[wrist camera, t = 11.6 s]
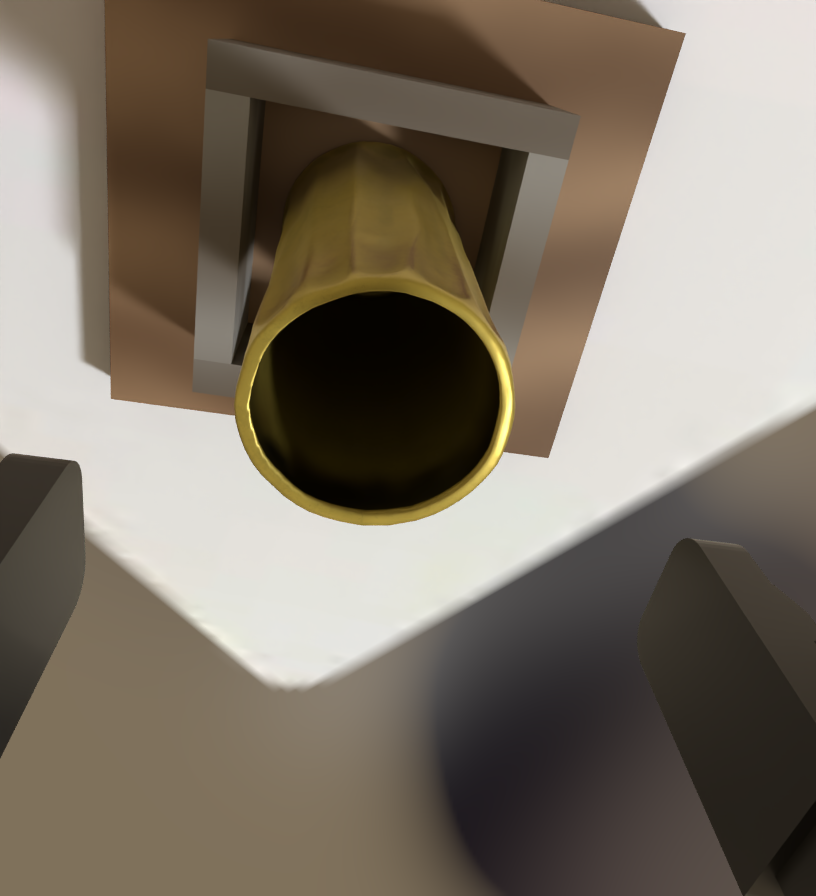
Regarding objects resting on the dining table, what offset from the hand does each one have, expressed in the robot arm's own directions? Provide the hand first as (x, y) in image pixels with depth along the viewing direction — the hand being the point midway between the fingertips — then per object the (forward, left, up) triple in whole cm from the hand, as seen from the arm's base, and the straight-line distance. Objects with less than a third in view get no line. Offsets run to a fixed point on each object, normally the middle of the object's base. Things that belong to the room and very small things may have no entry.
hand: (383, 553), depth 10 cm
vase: (0, 0, -19) cm, 19 cm away
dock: (0, 0, -20) cm, 20 cm away
